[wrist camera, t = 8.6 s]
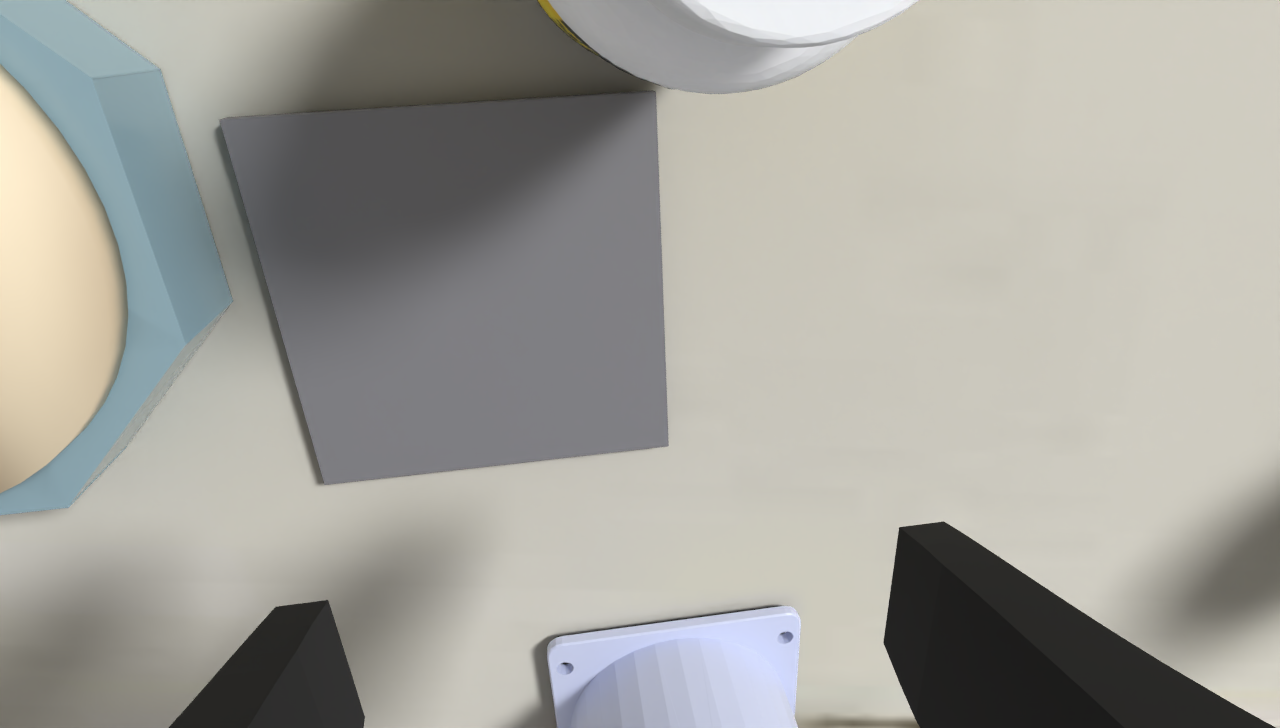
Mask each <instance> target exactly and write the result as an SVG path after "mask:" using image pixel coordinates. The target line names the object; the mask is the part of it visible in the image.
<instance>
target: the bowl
mask: <svg viewBox="0 0 1280 728" xmlns="http://www.w3.org/2000/svg"><path fill="white" fill-rule="evenodd" d="M0 64H1V65H2V66H3V67H4V68H5V69H6V70H7V71H8V72H9V73H10V74H11V75H12V76H13V77H14V78H15V79H16V80H17V81H18V82H19V83H20V84H21V85H22V86H23V87H24V88H25V89H26V90H27V91H28V93H29V94H30V95H31V96H32V97H33V99H34V100H35V101H36V102H37V103H38V105H39V106H40V107H41V108H42V110H43V111H44V112H45V113H46V114H47V116H48V117H49V118H50V119H51V121H52V122H53V123H54V124H55V125H56V127H57V128H58V129H59V130H60V132H61V134H62V135H63V137H64V138H65V140H66V141H67V143H68V144H69V146H70V147H71V149H72V150H73V152H74V153H75V155H76V156H77V158H78V159H79V161H80V162H81V164H82V165H83V167H84V168H85V170H86V172H87V174H88V176H89V178H90V180H91V182H92V184H93V186H94V188H95V190H96V192H97V194H98V196H99V197H100V199H101V201H102V203H103V205H104V207H105V210H106V213H107V215H108V218H109V221H110V224H111V226H112V229H113V232H114V235H115V237H116V240H117V243H118V246H119V250H120V255H121V260H122V264H123V269H124V273H125V278H126V286H127V300H128V325H127V336H126V347H125V350H124V354H123V358H122V361H121V365H120V369H119V372H118V376H117V378H116V380H115V382H114V384H113V386H112V389H111V391H110V393H109V395H108V397H107V399H106V401H105V403H104V404H103V406H102V407H101V408H100V410H99V411H98V413H97V414H96V415H95V417H94V418H93V420H92V421H91V422H90V424H89V425H88V426H87V427H86V428H85V429H84V430H83V431H82V432H81V433H80V434H79V435H78V436H77V437H76V438H75V439H74V440H73V441H72V442H71V443H70V444H69V445H68V446H67V447H66V448H65V449H64V450H62V451H61V452H60V453H59V454H58V455H57V456H56V457H55V458H54V459H53V460H51V461H50V462H49V463H48V464H47V465H46V466H44V467H43V468H41V469H40V470H39V471H37V472H36V473H34V474H33V475H32V476H30V477H29V478H27V479H26V480H24V481H23V482H22V483H20V484H18V485H16V486H14V487H12V488H10V489H8V490H6V491H4V492H2V493H0V515H6V514H15V513H24V512H33V511H42V510H51V509H60V508H69V506H70V505H71V504H72V503H73V502H74V501H75V500H76V499H77V498H78V497H79V496H80V495H81V494H82V493H83V492H84V491H85V490H86V489H87V488H88V487H89V486H90V485H91V484H92V483H93V481H94V480H95V479H96V478H97V477H98V476H99V475H100V474H101V473H102V472H103V471H104V470H105V469H106V468H107V467H108V466H109V465H110V464H111V463H112V462H113V461H114V460H115V459H116V458H117V456H118V455H119V454H120V453H121V452H122V451H123V450H124V449H125V448H126V447H127V445H128V444H129V442H130V441H131V440H132V438H133V437H134V436H135V434H136V433H137V431H138V430H139V429H140V427H141V426H142V425H143V423H144V422H145V421H146V419H147V418H148V416H149V415H150V414H151V412H152V411H153V410H154V408H155V407H156V405H157V404H158V403H159V401H160V400H161V399H162V397H163V396H164V394H165V393H166V392H167V390H168V389H169V388H170V386H171V385H172V384H173V382H174V381H175V379H176V378H177V377H178V375H179V374H180V373H181V371H182V370H183V368H184V367H185V366H186V364H187V363H188V362H189V360H190V359H191V358H192V356H193V355H194V353H195V352H196V351H197V349H198V348H199V347H200V345H201V344H202V342H203V341H204V340H205V338H206V337H207V336H208V334H209V333H210V332H211V330H212V329H213V327H214V326H215V325H216V323H217V322H218V321H219V319H220V318H221V316H222V315H223V314H224V312H225V311H226V310H227V308H228V307H229V306H230V304H231V303H232V302H233V300H232V296H231V293H230V290H229V287H228V284H227V281H226V277H225V274H224V271H223V268H222V265H221V261H220V258H219V255H218V252H217V249H216V245H215V242H214V239H213V236H212V233H211V230H210V226H209V223H208V220H207V217H206V214H205V210H204V207H203V204H202V201H201V198H200V194H199V191H198V188H197V185H196V182H195V178H194V175H193V172H192V169H191V166H190V163H189V159H188V156H187V153H186V150H185V147H184V143H183V140H182V137H181V134H180V131H179V127H178V124H177V121H176V118H175V115H174V112H173V108H172V105H171V102H170V99H169V96H168V92H167V89H166V86H165V83H164V80H163V76H162V73H161V70H160V69H159V68H158V67H156V66H155V65H154V64H152V63H151V62H149V61H148V60H147V59H145V58H144V57H143V56H141V55H140V54H138V53H137V52H136V51H134V50H133V49H132V48H130V47H129V46H128V45H126V44H125V43H123V42H122V41H121V40H119V39H118V38H117V37H115V36H114V35H112V34H111V33H110V32H108V31H107V30H106V29H104V28H103V27H102V26H100V25H99V24H97V23H96V22H95V21H93V20H92V19H91V18H89V17H88V16H86V15H85V14H84V13H82V12H81V11H80V10H78V9H77V8H75V7H74V6H73V5H71V4H70V3H69V2H67V1H66V0H0Z"/></svg>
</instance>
